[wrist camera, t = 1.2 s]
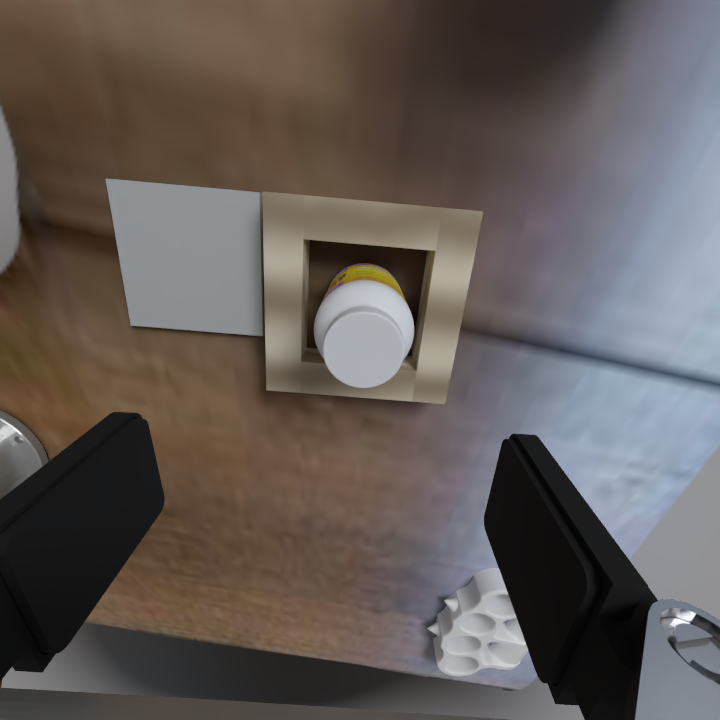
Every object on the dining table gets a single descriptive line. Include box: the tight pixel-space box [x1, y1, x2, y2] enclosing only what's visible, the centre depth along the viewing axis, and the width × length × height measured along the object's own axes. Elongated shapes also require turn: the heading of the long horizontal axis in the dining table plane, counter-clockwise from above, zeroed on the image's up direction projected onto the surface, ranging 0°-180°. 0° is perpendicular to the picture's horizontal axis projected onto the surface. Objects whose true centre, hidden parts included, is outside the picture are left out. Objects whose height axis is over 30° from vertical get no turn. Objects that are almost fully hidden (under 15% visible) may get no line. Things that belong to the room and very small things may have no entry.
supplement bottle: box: [314, 263, 414, 388], centre depth 26 cm, size 7×7×13 cm
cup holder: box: [262, 191, 483, 404], centre depth 30 cm, size 16×16×4 cm
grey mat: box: [106, 179, 264, 336], centre depth 30 cm, size 12×12×1 cm
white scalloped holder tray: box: [426, 568, 528, 676], centre depth 47 cm, size 3×18×15 cm
